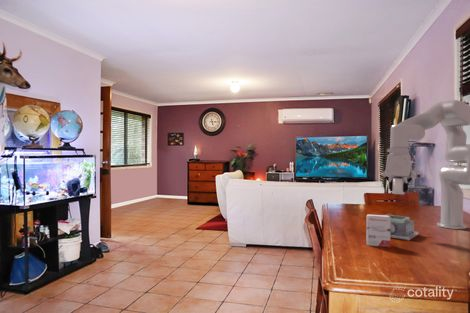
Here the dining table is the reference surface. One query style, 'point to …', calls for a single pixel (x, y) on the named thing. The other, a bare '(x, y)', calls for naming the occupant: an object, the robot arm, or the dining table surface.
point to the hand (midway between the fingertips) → (398, 191)
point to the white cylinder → (397, 185)
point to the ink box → (378, 230)
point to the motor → (402, 227)
